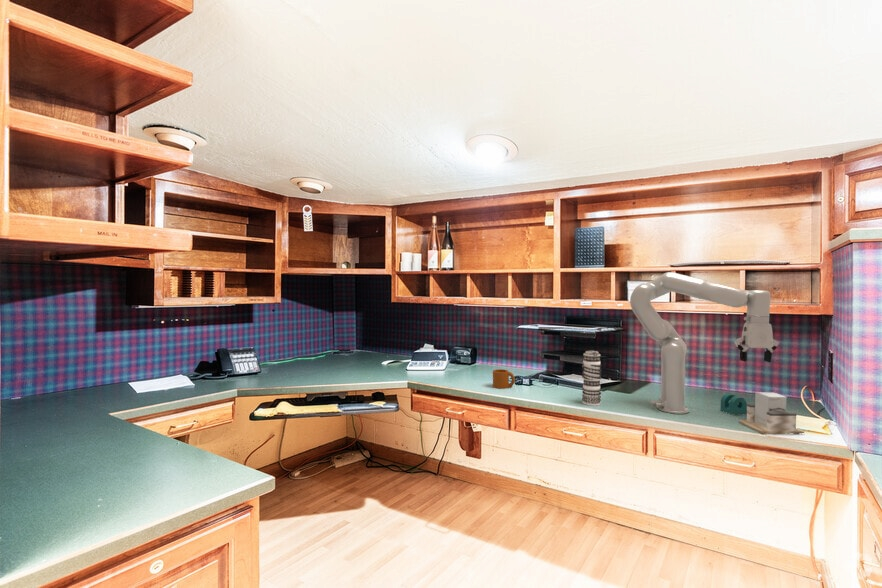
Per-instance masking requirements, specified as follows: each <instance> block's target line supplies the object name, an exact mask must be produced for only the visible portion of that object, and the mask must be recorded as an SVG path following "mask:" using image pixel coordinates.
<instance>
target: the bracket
mask: <svg viewBox="0 0 882 588" xmlns="http://www.w3.org/2000/svg"><path fill="white" fill-rule="evenodd" d="M747 404H748V403H747V401H746V399H745V398H743V397H741V396H737V395H734V394H732V393H725V394H723V395H722V397H721V399H720V411H721V412H723V411H724V412H723V413H726V412H727V413H726V414H728V413H730V414H729V415H731V414H746V415H747Z"/></svg>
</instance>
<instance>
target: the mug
mask: <svg viewBox="0 0 882 588" xmlns="http://www.w3.org/2000/svg"><path fill="white" fill-rule="evenodd" d="M509 377H510V378H511V382H510V378H509ZM515 381H516V378H515V375H514V373H513V372H511V371H509V370H507V369H492V388H494V389H499V390H500V389H501V390H503V389H505V390H506V389H508V388H511V387H512V386H514V385H515V383H516V382H515Z"/></svg>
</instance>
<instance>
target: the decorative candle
mask: <svg viewBox="0 0 882 588" xmlns="http://www.w3.org/2000/svg"><path fill="white" fill-rule="evenodd" d="M582 355H583V359H582V360H583V361H582V364H581V367H582V368H581V370H582V372H581V374H582V376H581V377H582V379H583V384H582V388H581V389H582V391H581V392H582V395H581V400H582V402H581V403H582V404H584V405H588V406H600V405H601V403H602V396H601V395H602V392H601V391H602V389H601V380H602V377H601V375H602V374H603V373H602V369H601V368H602V367H603V365H602V362H601V354H600V353H599V351H597V350H585V352H584V353H583V354H582Z"/></svg>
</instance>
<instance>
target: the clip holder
mask: <svg viewBox="0 0 882 588" xmlns="http://www.w3.org/2000/svg"><path fill="white" fill-rule="evenodd" d="M740 423H741V425H742V426H745V427H747V428H748V429H751V430H753V431H755V432H757V433H759V434H762V435H790V434H789V433H794V434H793V435H798V434H797V433H804V434H805V430H802V429H799V428H797V413H796V412H793V411H792V412H791V411H790V412H789V411H786V412H767V428H765V427H763V426H761V425H759V424H757V423H755V403H747V414H746V419H745V420H744V419H743V420H742V419H738V424H740ZM796 428H797V429H796ZM785 433H787V434H785Z"/></svg>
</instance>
